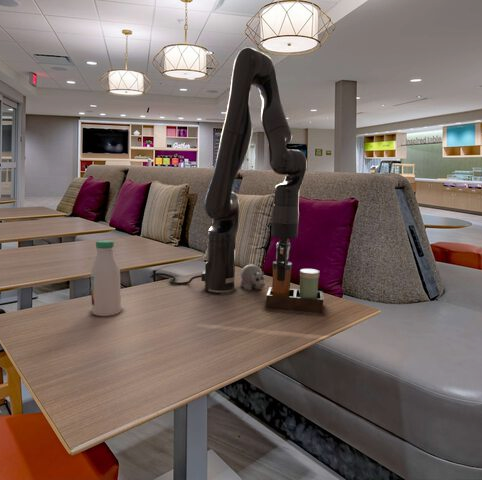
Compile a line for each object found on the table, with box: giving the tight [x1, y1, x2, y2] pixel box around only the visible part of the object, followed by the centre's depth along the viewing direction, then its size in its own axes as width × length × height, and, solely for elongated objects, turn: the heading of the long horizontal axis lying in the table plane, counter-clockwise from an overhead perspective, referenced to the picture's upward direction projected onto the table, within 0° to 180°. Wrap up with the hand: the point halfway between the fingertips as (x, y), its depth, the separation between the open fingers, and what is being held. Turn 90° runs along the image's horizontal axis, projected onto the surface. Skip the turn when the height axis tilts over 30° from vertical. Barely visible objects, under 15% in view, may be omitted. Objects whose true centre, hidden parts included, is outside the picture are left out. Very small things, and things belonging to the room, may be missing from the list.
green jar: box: [299, 268, 321, 299], centre depth 121 cm, size 6×6×11 cm
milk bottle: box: [90, 239, 122, 317], centre depth 114 cm, size 8×8×20 cm
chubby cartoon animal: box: [239, 264, 266, 291], centre depth 138 cm, size 7×12×8 cm, turn 20°
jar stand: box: [265, 286, 324, 315], centre depth 123 cm, size 16×8×5 cm, turn 79°
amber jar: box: [271, 260, 293, 296], centre depth 122 cm, size 6×6×11 cm
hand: (281, 277), depth 122 cm, fingers closed on amber jar, 5 cm apart
